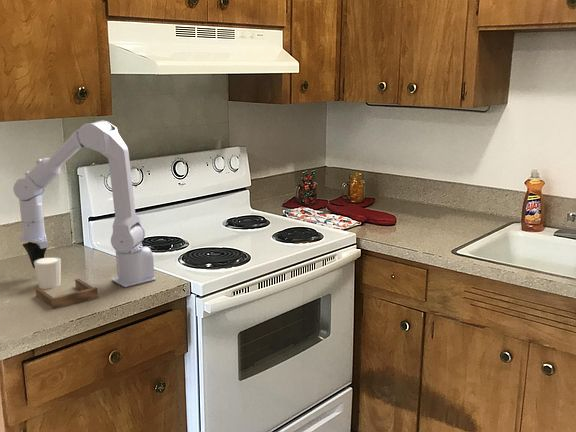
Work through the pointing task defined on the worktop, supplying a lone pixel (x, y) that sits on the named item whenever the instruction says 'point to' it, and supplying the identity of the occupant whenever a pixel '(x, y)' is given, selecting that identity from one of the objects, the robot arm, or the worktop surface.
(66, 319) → the worktop surface
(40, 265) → the white cylinder
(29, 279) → the worktop surface
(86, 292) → the walnut bay
